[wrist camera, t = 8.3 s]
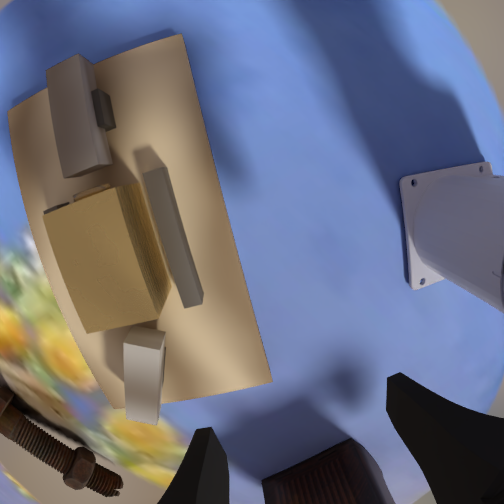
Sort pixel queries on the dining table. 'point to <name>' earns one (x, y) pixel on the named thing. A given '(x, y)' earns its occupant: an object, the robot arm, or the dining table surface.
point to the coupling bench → (161, 215)
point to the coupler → (109, 257)
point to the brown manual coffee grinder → (330, 479)
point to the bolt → (56, 451)
